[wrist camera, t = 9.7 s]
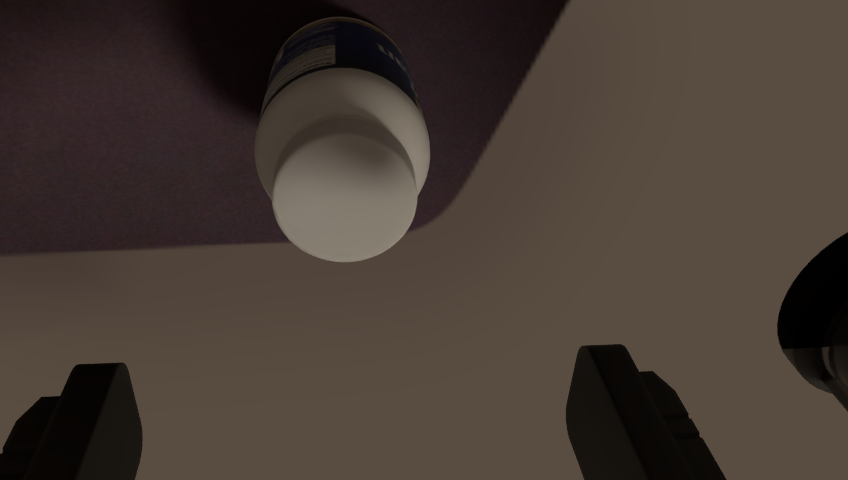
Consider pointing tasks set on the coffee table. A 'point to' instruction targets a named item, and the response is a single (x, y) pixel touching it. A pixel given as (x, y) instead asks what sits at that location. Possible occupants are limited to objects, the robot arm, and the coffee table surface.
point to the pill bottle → (342, 140)
